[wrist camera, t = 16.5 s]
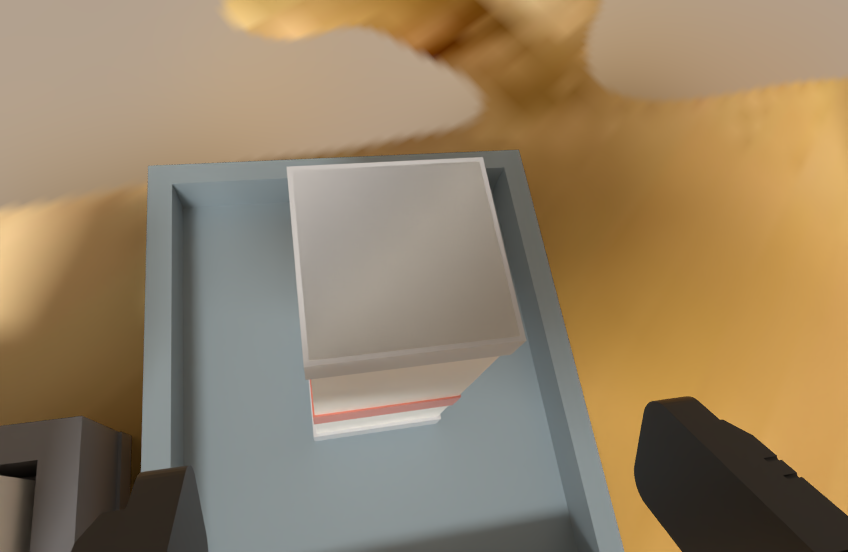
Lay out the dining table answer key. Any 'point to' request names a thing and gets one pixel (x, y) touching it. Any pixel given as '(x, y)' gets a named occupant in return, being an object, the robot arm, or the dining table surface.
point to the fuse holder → (67, 475)
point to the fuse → (16, 513)
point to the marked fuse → (397, 289)
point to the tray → (290, 396)
